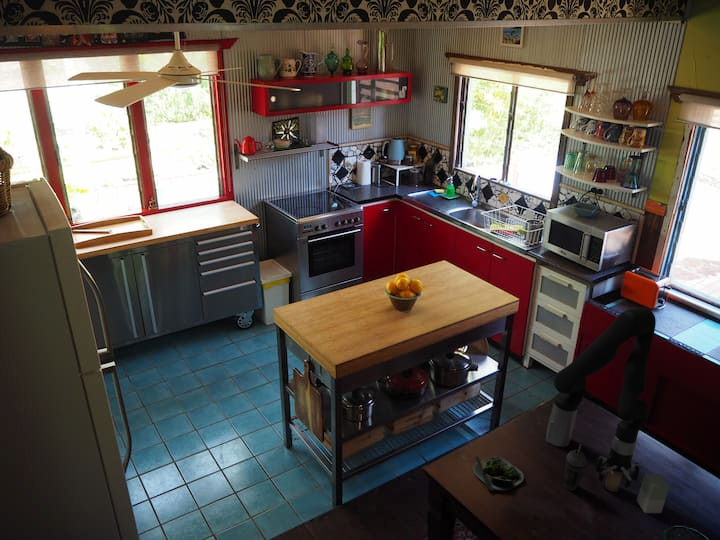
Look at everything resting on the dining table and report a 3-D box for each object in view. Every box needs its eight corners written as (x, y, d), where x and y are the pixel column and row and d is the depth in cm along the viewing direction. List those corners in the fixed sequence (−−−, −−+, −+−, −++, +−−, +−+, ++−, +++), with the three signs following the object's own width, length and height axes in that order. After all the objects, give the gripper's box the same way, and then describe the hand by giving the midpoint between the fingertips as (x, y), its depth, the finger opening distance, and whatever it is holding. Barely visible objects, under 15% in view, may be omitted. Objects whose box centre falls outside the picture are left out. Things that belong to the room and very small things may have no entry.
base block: (644, 513, 212) (648, 499, 210) (636, 500, 217) (640, 487, 215) (661, 513, 212) (665, 499, 210) (652, 500, 218) (656, 487, 216)
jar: (605, 490, 221) (609, 474, 219) (604, 481, 226) (608, 466, 223) (619, 493, 220) (623, 478, 218) (617, 484, 225) (621, 469, 222)
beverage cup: (580, 482, 224) (591, 438, 217) (580, 495, 218) (591, 451, 210) (560, 477, 226) (570, 433, 219) (559, 490, 220) (569, 445, 212)
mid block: (649, 499, 210) (653, 486, 207) (640, 487, 215) (644, 474, 213) (665, 499, 210) (669, 486, 208) (656, 487, 216) (660, 474, 213)
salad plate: (458, 467, 229) (460, 457, 227) (492, 452, 238) (494, 442, 237) (495, 499, 214) (497, 489, 212) (529, 482, 224) (531, 472, 222)
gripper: (602, 449, 215) (593, 485, 221) (645, 458, 211) (635, 495, 217) (601, 437, 221) (592, 472, 227) (642, 446, 218) (632, 481, 224)
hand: (613, 483), depth 222 cm, fingers open, 8 cm apart
